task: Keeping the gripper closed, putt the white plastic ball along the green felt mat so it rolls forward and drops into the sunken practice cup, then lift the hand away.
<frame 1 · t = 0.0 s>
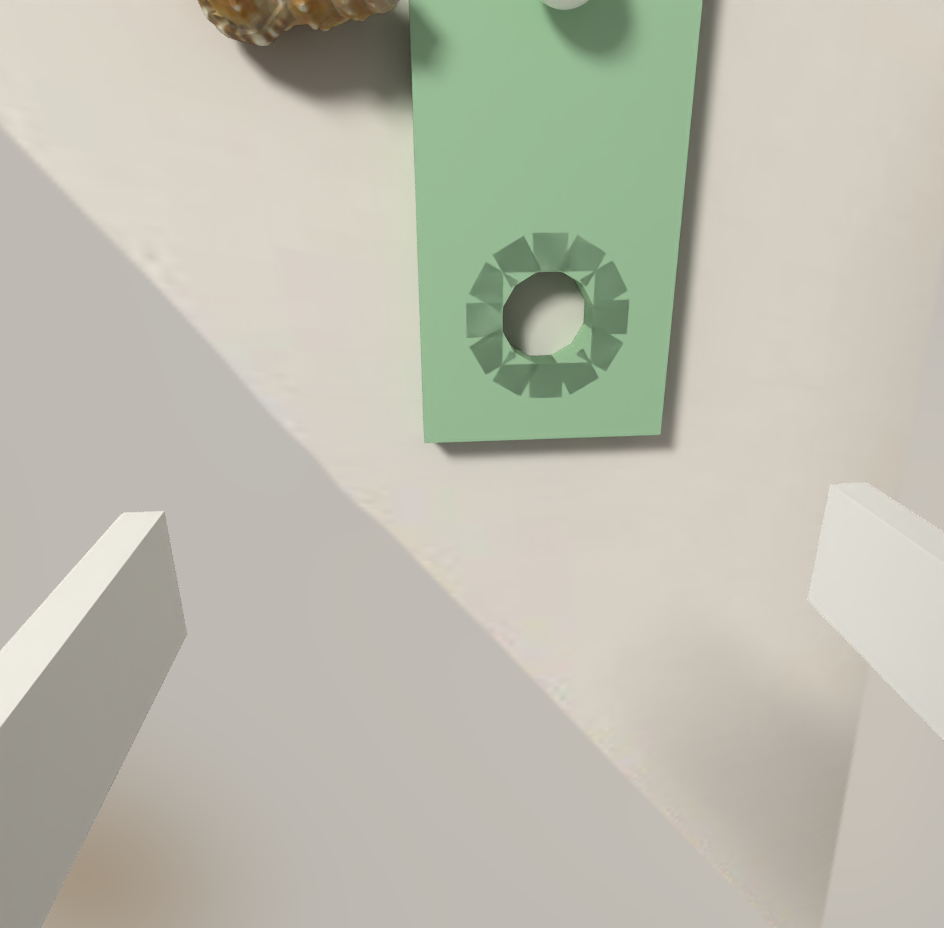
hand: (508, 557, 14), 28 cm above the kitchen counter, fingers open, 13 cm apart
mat: (545, 181, 38), on the kitchen counter
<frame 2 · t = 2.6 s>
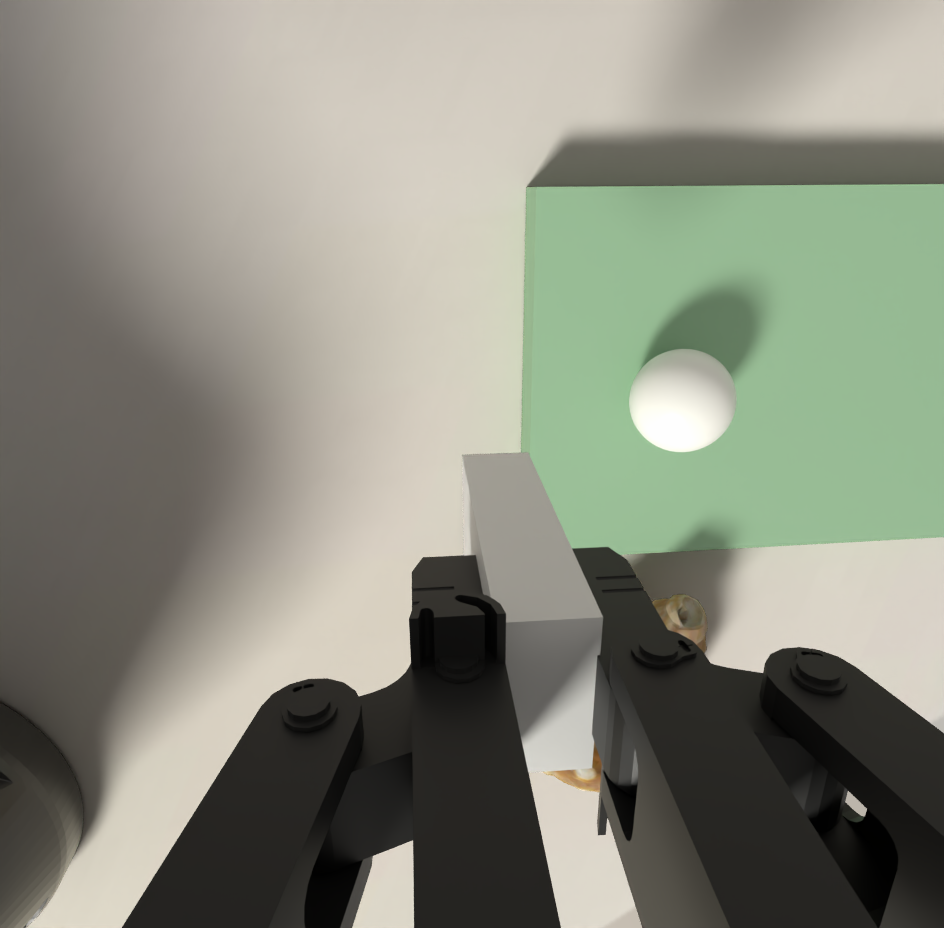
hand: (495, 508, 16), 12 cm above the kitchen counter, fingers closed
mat: (858, 367, 29), on the kitchen counter
seashell: (590, 653, 33), on the kitchen counter
ball: (681, 400, 24), point 4 cm above the kitchen counter, touching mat
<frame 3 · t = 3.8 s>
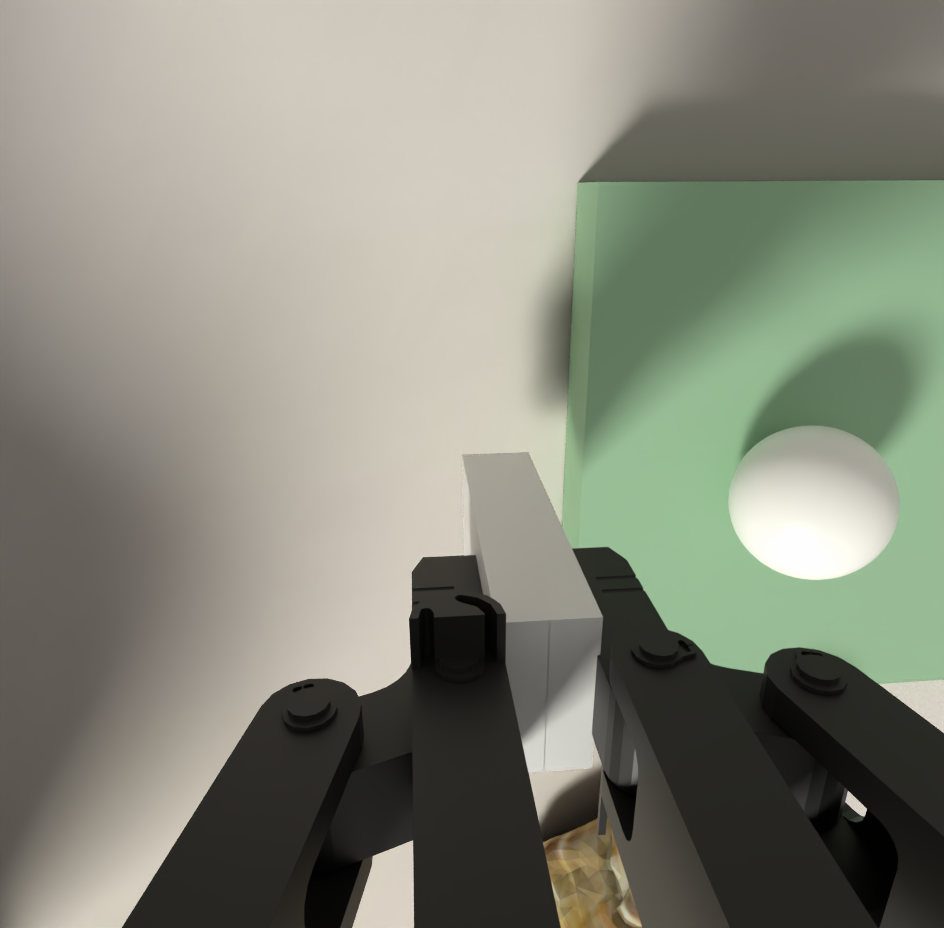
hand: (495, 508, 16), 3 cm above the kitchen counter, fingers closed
seashell: (638, 804, 25), on the kitchen counter
ball: (809, 502, 16), point 4 cm above the kitchen counter, touching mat
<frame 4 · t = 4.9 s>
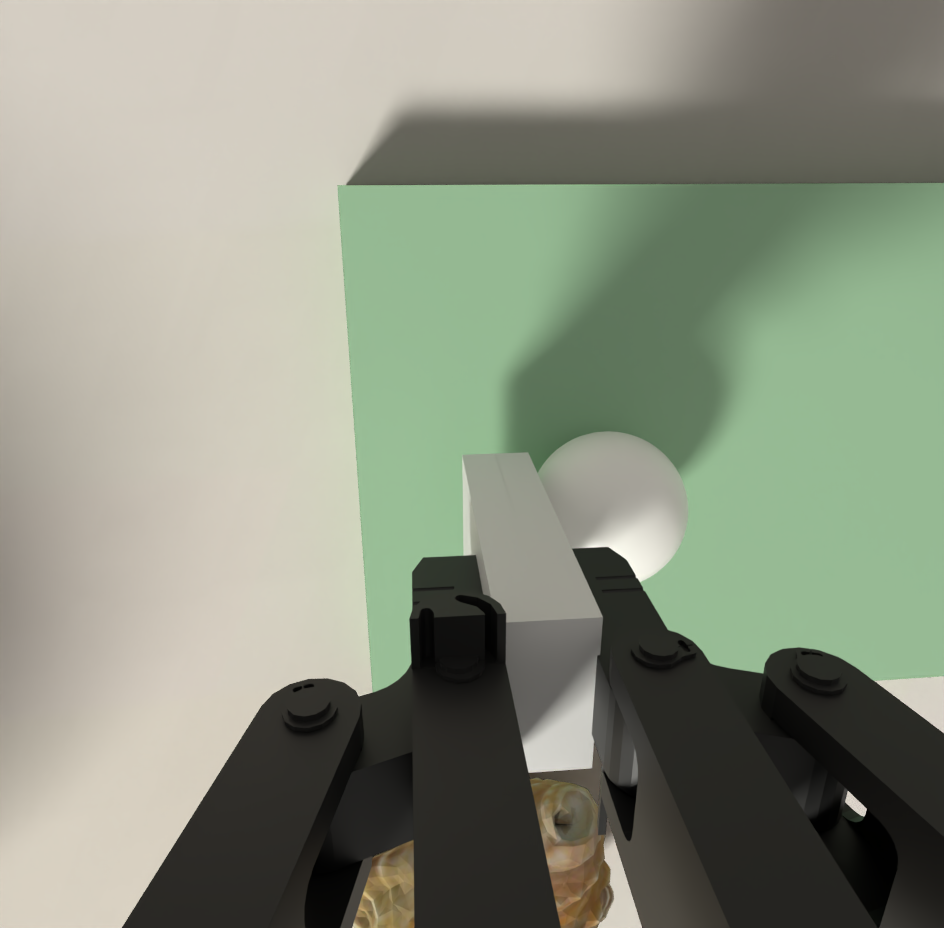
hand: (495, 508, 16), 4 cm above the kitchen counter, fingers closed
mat: (847, 442, 20), on the kitchen counter
seashell: (475, 817, 25), on the kitchen counter
ball: (607, 509, 16), point 4 cm above the kitchen counter, tilted 22°, touching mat
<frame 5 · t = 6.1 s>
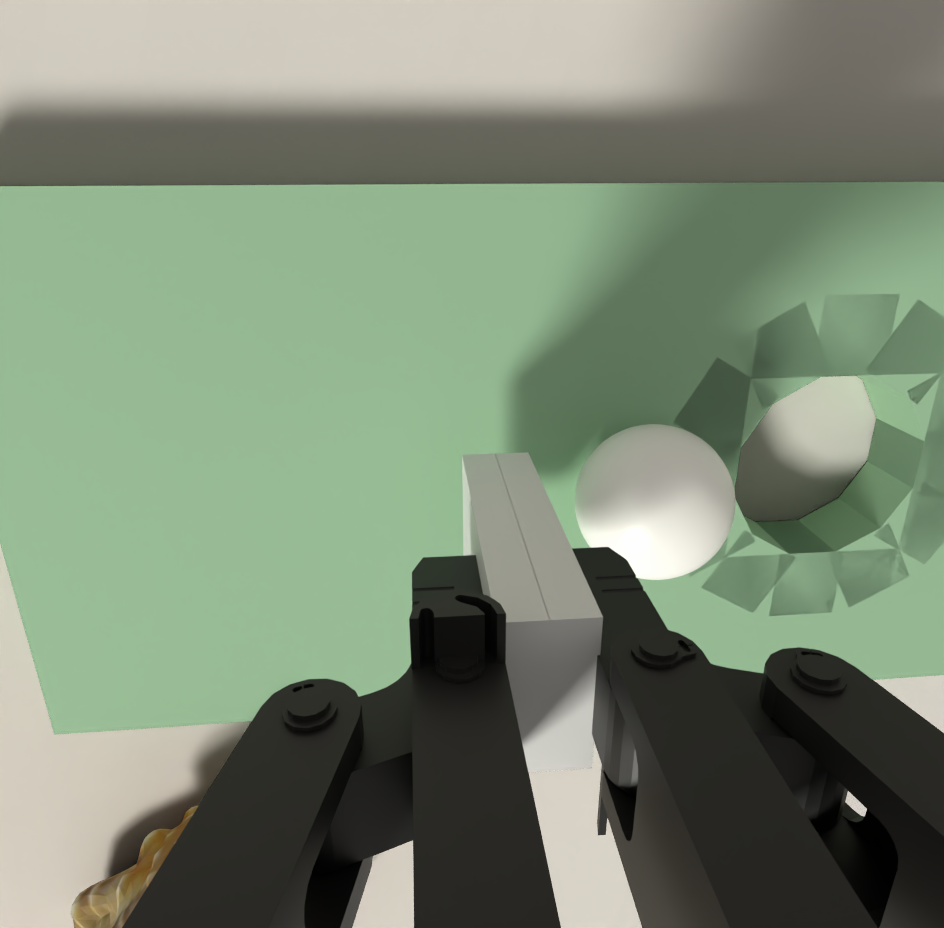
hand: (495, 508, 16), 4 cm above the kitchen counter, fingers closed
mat: (551, 452, 20), on the kitchen counter
seashell: (217, 841, 24), on the kitchen counter
ball: (652, 501, 16), point 4 cm above the kitchen counter, tilted 25°, touching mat
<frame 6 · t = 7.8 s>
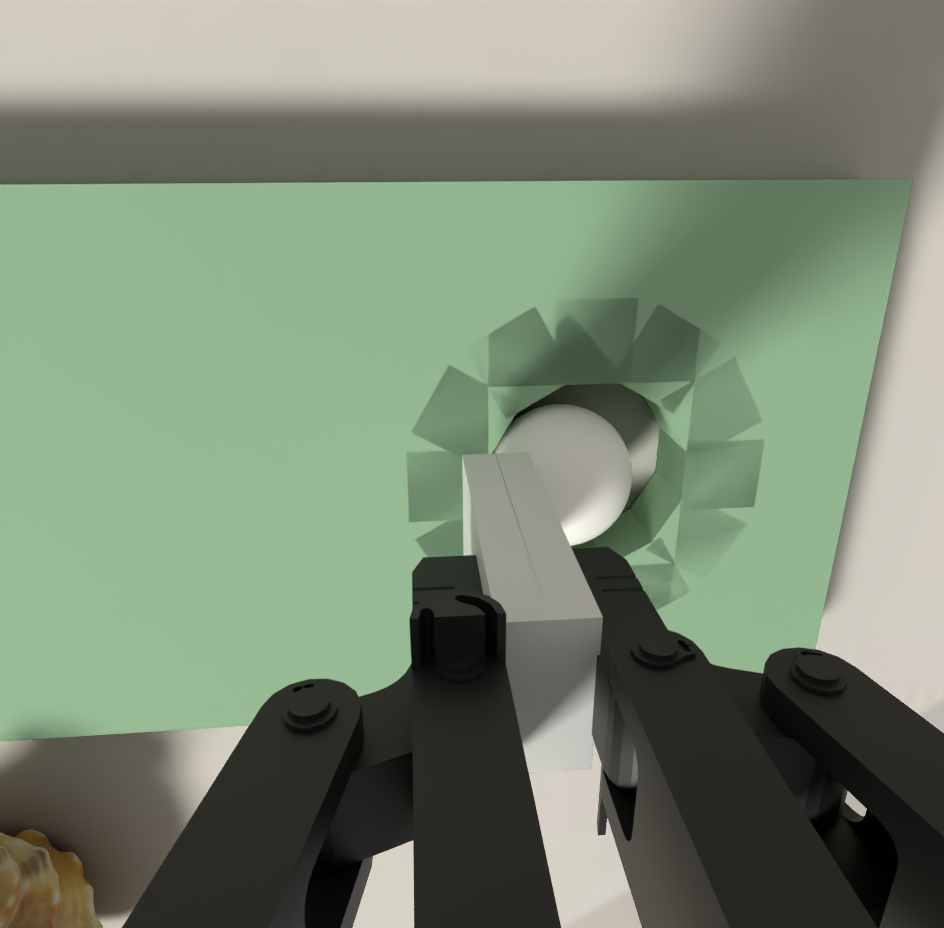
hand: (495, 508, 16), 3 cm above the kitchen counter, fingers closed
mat: (315, 462, 19), on the kitchen counter
seashell: (12, 867, 24), on the kitchen counter
ball: (559, 475, 18), point 2 cm above the kitchen counter, tilted 145°, touching gripper
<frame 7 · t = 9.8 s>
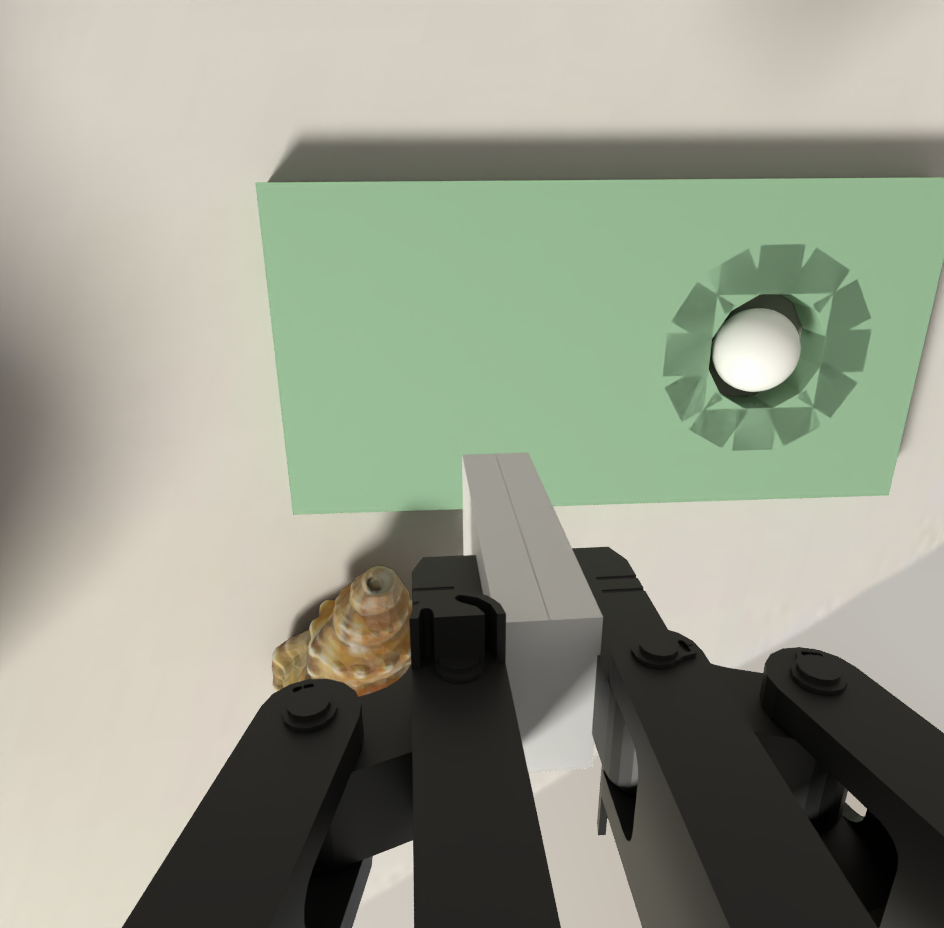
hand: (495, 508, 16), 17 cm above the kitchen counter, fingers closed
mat: (596, 346, 32), on the kitchen counter
seashell: (357, 624, 37), on the kitchen counter
ball: (755, 350, 30), point 2 cm above the kitchen counter, tilted 152°
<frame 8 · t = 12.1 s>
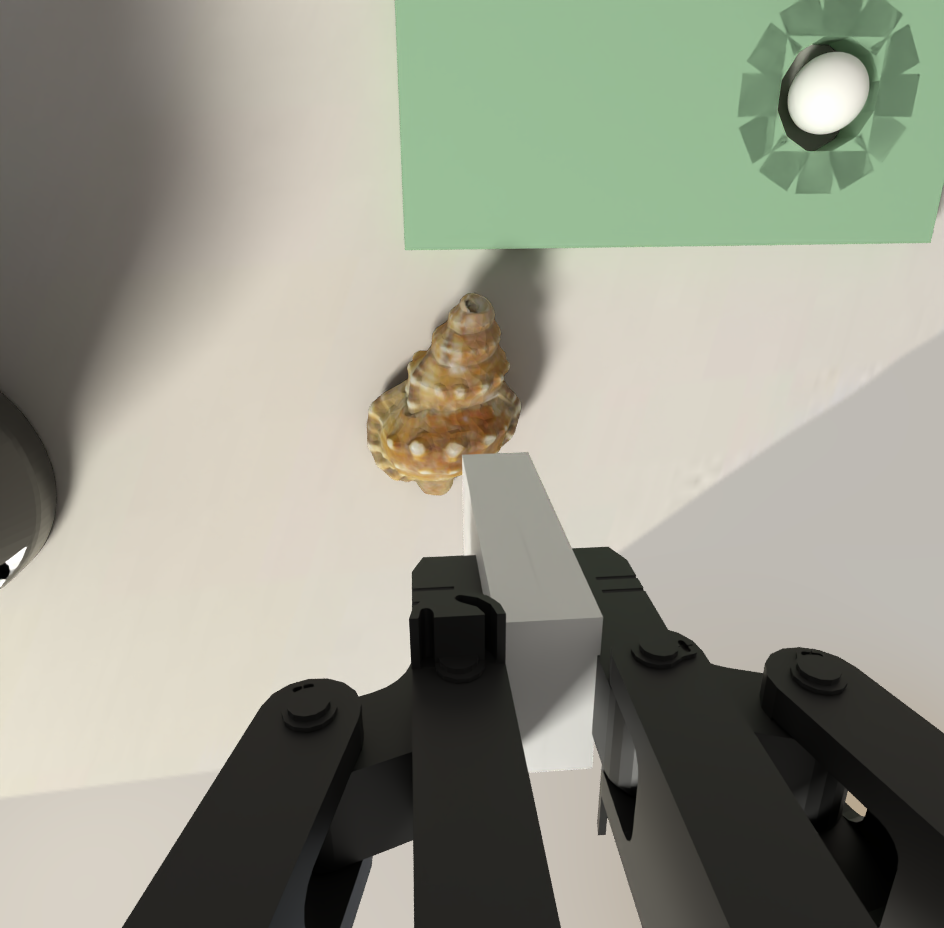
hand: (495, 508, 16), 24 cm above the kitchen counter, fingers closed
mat: (675, 99, 36), on the kitchen counter
seashell: (441, 389, 40), on the kitchen counter
ball: (827, 94, 34), point 2 cm above the kitchen counter, tilted 167°
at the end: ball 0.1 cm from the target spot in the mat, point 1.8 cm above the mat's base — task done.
